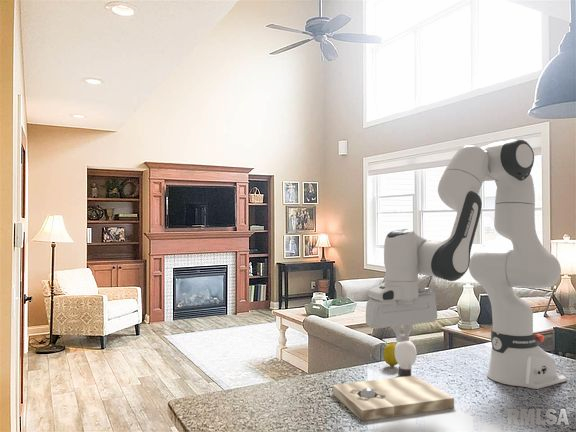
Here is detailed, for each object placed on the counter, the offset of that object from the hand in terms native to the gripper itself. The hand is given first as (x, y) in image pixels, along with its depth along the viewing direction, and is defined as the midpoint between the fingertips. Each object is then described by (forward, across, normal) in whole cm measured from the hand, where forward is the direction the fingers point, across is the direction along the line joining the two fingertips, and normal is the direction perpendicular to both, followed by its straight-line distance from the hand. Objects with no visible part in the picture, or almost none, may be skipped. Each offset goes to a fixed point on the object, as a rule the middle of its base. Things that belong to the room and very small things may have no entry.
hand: (402, 341), depth 125 cm
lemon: (+16, -11, -24) cm, 31 cm away
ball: (+13, +11, 0) cm, 17 cm away
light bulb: (+16, -11, -17) cm, 26 cm away
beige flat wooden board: (+15, +4, 0) cm, 16 cm away
